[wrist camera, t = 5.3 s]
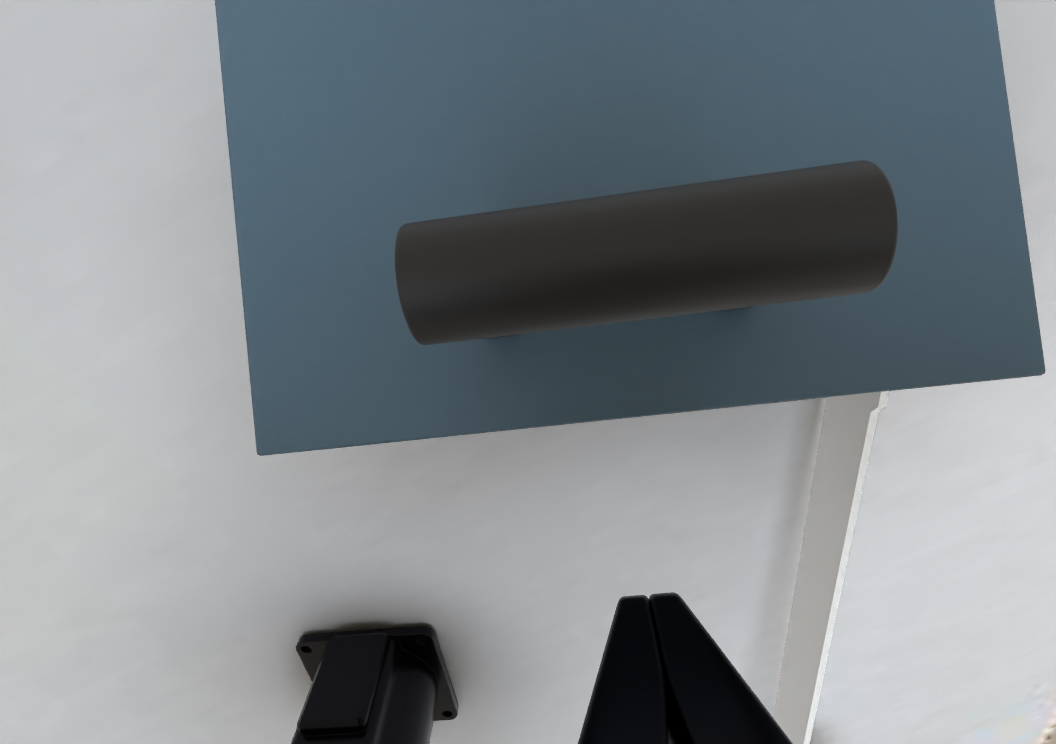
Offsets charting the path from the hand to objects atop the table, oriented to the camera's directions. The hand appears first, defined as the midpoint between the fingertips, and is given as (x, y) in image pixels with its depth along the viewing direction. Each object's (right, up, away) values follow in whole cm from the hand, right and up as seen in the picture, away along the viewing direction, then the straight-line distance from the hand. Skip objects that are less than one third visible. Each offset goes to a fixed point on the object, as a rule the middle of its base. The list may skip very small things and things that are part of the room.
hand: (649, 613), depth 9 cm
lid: (0, +7, +2) cm, 8 cm away
